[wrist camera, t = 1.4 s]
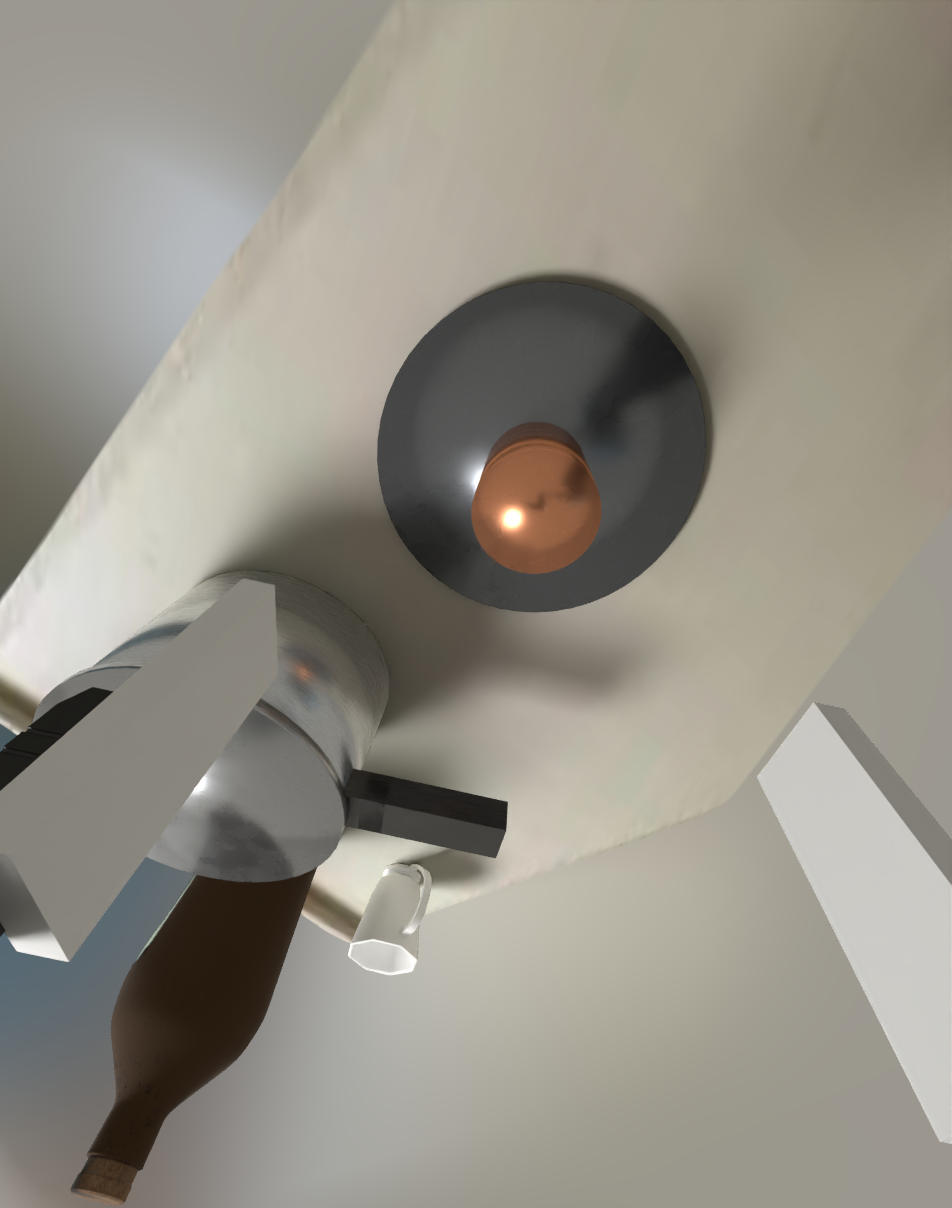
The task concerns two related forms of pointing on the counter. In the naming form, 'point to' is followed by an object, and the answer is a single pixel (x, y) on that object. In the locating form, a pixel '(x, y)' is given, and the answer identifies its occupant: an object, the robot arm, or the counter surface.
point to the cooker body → (295, 749)
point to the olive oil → (188, 1013)
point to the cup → (392, 921)
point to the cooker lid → (541, 447)
